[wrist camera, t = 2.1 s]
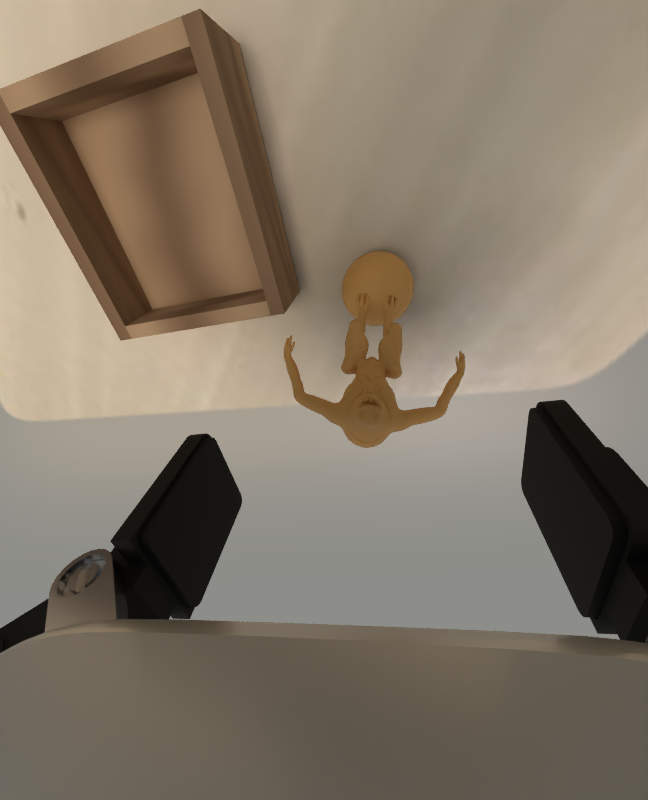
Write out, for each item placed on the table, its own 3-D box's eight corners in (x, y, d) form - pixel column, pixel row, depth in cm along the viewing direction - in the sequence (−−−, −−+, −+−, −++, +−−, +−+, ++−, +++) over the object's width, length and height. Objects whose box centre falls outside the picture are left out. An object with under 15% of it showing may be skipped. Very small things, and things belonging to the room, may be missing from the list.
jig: (238, 43, 16) (200, 9, 13) (299, 290, 22) (284, 313, 19) (58, 109, 18) (-17, 95, 15) (157, 316, 24) (120, 340, 21)
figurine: (455, 249, 20) (531, 332, 10) (432, 346, 23) (472, 480, 13) (311, 240, 20) (245, 308, 10) (309, 335, 24) (259, 454, 14)
